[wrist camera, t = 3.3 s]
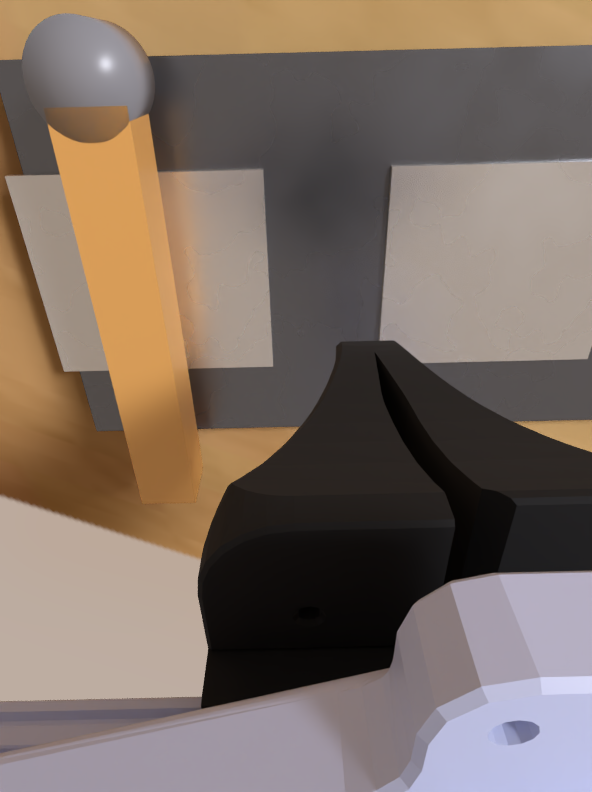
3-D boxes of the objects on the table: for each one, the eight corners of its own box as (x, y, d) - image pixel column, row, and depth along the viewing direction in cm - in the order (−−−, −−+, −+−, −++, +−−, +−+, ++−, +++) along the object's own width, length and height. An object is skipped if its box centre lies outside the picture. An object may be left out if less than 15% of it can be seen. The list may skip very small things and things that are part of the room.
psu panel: (656, 401, 23) (690, 433, 21) (93, 415, 23) (75, 447, 21) (814, 27, 15) (890, 23, 14) (-10, 48, 16) (-53, 47, 14)
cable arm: (42, 20, 13) (6, 15, 11) (145, 17, 13) (124, 12, 11) (146, 468, 21) (134, 503, 20) (210, 467, 21) (203, 502, 19)
